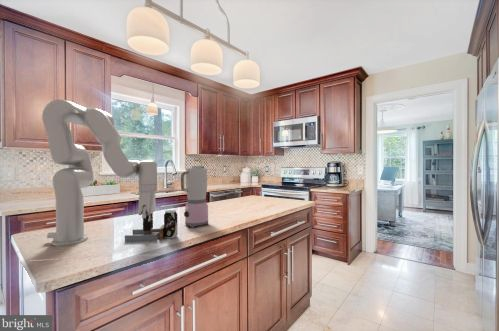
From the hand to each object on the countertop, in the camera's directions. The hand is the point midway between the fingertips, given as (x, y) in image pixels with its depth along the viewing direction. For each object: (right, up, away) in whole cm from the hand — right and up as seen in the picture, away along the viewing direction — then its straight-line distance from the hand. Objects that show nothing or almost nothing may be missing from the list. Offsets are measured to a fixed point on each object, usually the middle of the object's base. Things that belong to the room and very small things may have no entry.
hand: (148, 229), depth 106 cm
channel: (-1, -4, 0) cm, 4 cm away
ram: (+3, -4, 0) cm, 5 cm away
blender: (+16, -4, +22) cm, 27 cm away
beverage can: (+10, -4, +1) cm, 11 cm away
